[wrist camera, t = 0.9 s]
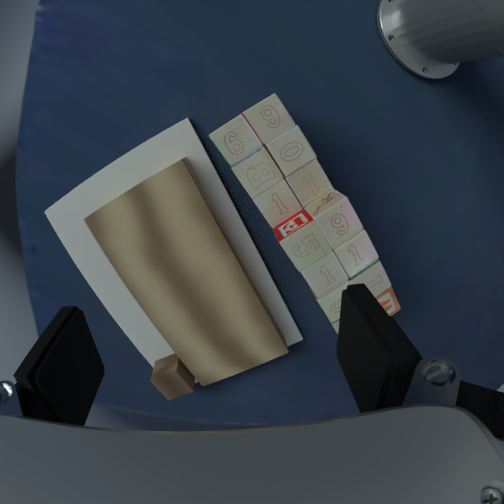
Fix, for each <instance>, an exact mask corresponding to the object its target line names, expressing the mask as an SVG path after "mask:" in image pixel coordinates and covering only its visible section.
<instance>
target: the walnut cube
mask: <svg viewBox="0 0 504 504" xmlns="http://www.w3.org/2000/svg"><path fill="white" fill-rule="evenodd" d="M151 382H152V383H153V384H154V385H155V386H156V388H157V389H158V390H159V391H160V392H161V393H162V394H163V395H164V396H165V397H166V398H167V399H168V400H171V399H174V398H177V397H180V396H183V395H186V394H189V393H192V392H194V384H195V377H194V375H193V374H192V373H191V372H190V371H189V369H188V368H187V367H186V366H185V365H184V363H183V362H182V361H181V360H180V358H179V357H178V356H177V355H176V353H174V354H172V355H169V356H167V357H164V358H162V359H159V360H156V361H155V364H154V368H153V372H152V376H151Z"/></svg>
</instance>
